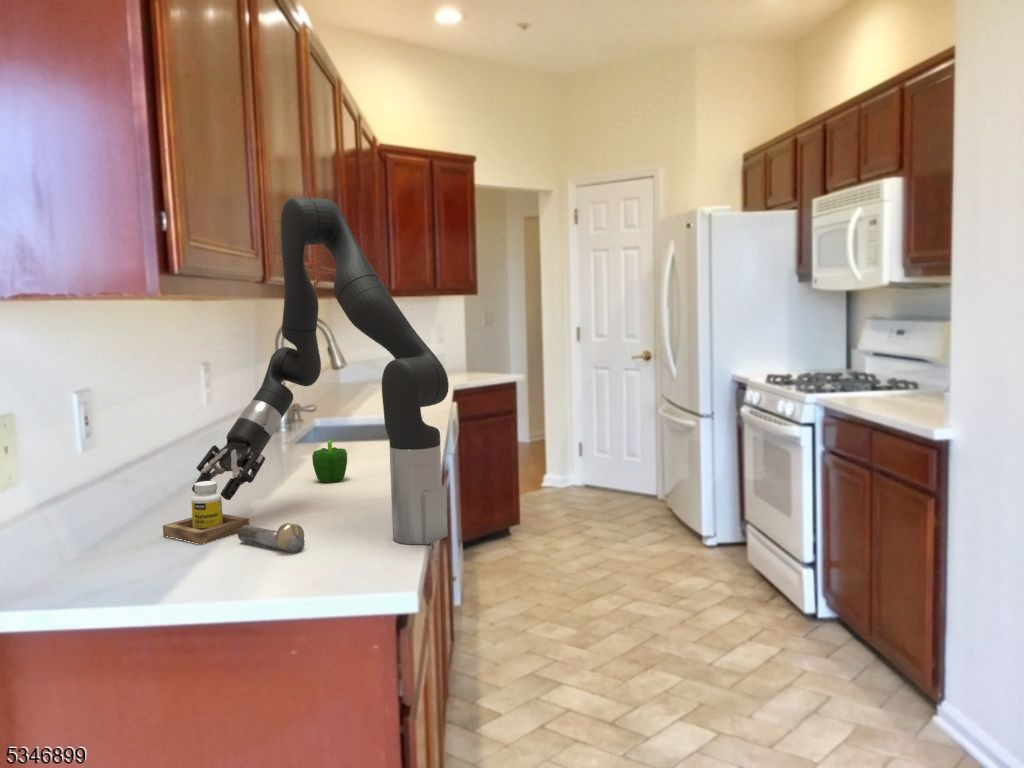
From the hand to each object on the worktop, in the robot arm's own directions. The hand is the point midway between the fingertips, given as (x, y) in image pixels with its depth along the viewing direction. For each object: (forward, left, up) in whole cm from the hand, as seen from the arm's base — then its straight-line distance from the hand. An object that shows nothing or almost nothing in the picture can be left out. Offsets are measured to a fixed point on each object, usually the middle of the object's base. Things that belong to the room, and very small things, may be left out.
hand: (210, 495), depth 150 cm
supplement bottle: (0, +1, -7) cm, 7 cm away
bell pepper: (+12, -44, -7) cm, 46 cm away
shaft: (-18, +1, -7) cm, 19 cm away
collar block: (0, +1, -7) cm, 7 cm away
